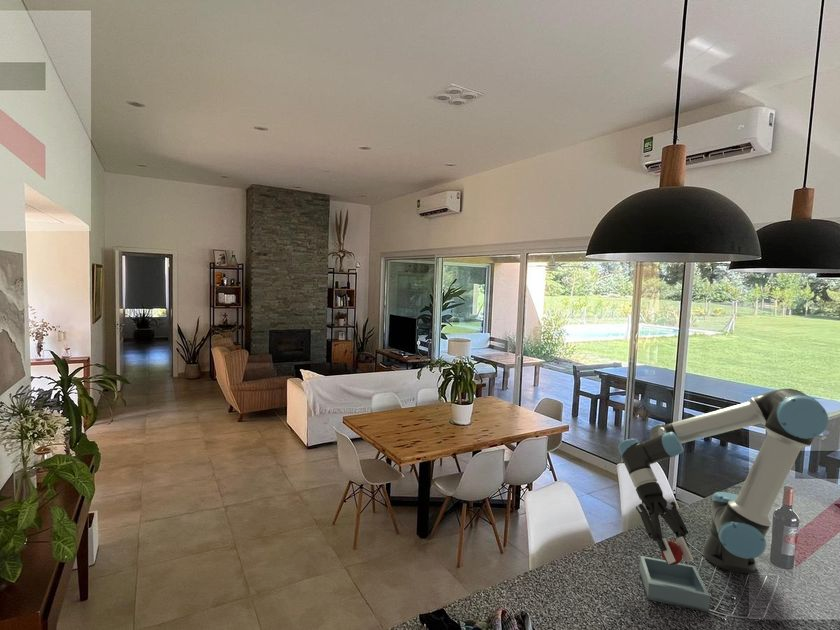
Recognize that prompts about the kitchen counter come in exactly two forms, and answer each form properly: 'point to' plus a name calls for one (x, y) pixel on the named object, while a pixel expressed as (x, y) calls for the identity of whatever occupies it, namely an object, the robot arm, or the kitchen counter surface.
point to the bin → (674, 584)
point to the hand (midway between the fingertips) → (680, 561)
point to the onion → (674, 552)
